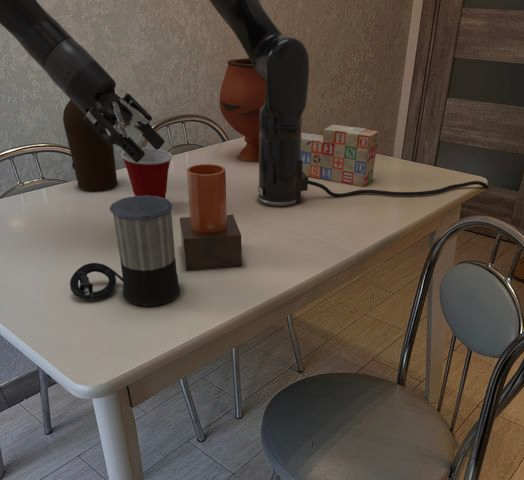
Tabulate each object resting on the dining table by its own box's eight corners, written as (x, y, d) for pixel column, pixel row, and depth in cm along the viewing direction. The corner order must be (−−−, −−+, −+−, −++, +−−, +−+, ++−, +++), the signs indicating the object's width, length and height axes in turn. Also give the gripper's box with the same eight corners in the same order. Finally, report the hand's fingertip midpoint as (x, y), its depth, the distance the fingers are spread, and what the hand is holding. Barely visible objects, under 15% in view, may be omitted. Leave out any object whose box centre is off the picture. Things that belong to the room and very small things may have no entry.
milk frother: (191, 297, 86) (184, 208, 78) (97, 326, 79) (78, 231, 70) (152, 265, 96) (142, 183, 87) (65, 289, 88) (45, 201, 80)
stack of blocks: (288, 173, 142) (290, 124, 135) (299, 167, 147) (301, 119, 140) (364, 186, 133) (370, 135, 126) (373, 180, 138) (379, 130, 131)
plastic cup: (167, 218, 115) (161, 161, 108) (120, 214, 116) (112, 157, 109) (183, 201, 123) (179, 147, 116) (139, 197, 125) (132, 144, 118)
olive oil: (128, 182, 135) (113, 71, 120) (103, 194, 126) (84, 78, 112) (93, 177, 138) (74, 68, 124) (66, 189, 130) (43, 74, 115)
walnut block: (233, 244, 104) (232, 214, 100) (241, 266, 96) (241, 234, 92) (182, 247, 102) (179, 217, 99) (186, 270, 94) (183, 238, 91)
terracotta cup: (224, 218, 99) (222, 163, 93) (229, 231, 93) (227, 174, 88) (189, 220, 98) (185, 165, 92) (192, 233, 92) (188, 176, 87)
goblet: (301, 157, 155) (305, 60, 141) (255, 171, 143) (255, 67, 129) (254, 145, 166) (254, 54, 151) (207, 157, 154) (203, 59, 140)
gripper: (68, 65, 81) (147, 147, 86) (111, 54, 93) (179, 128, 97) (45, 101, 85) (121, 178, 90) (89, 86, 97) (155, 156, 101)
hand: (151, 152), depth 93 cm, fingers open, 8 cm apart
